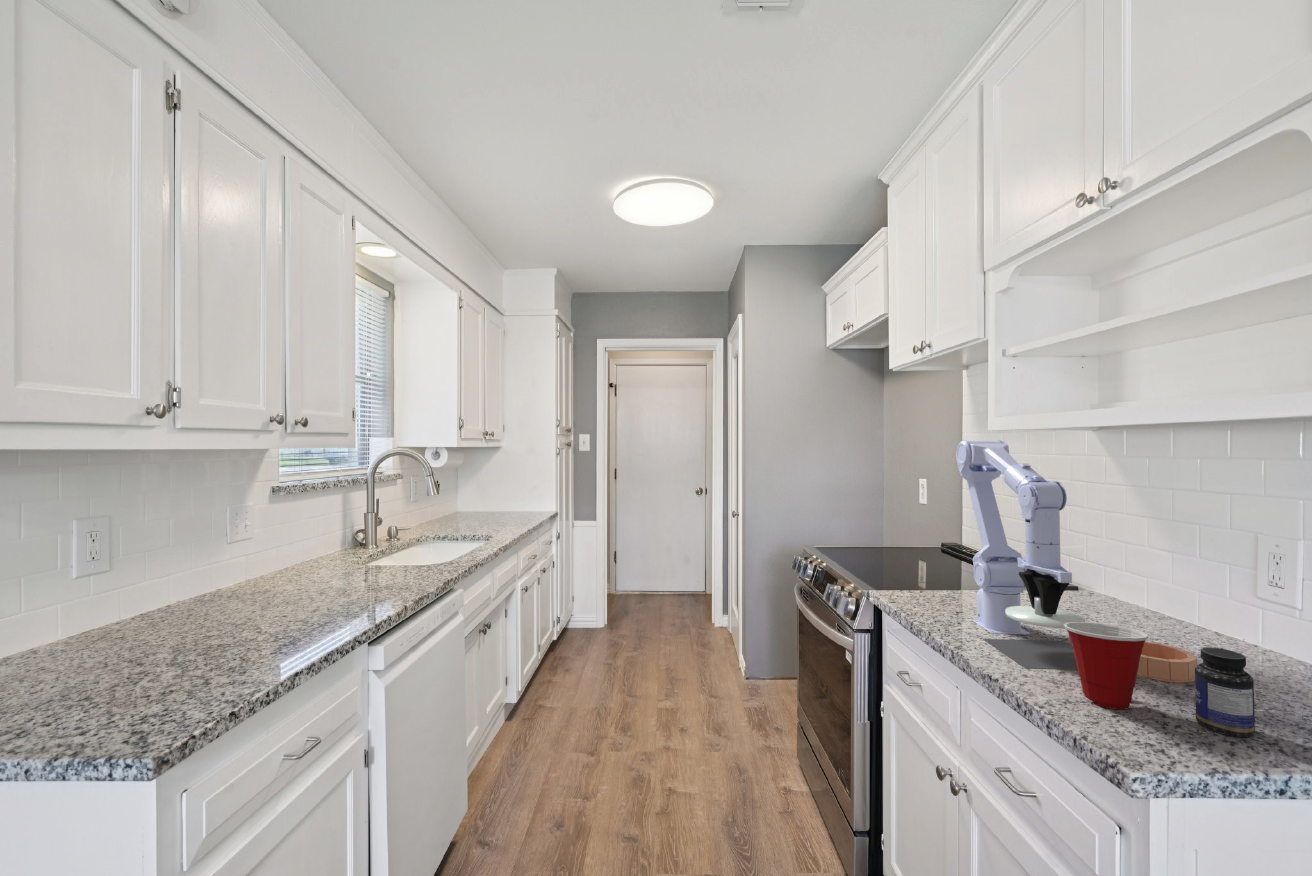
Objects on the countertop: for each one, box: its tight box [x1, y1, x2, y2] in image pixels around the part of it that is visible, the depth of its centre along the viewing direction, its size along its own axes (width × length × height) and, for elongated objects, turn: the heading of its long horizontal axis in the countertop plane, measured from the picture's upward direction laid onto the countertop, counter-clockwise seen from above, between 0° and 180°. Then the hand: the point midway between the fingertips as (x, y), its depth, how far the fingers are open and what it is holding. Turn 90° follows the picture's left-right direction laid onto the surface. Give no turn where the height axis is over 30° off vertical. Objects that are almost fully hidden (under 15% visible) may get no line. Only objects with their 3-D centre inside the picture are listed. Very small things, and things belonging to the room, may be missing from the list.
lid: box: [1005, 596, 1086, 630], centre depth 111 cm, size 13×13×4 cm
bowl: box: [1137, 640, 1198, 683], centre depth 102 cm, size 11×11×4 cm
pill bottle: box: [1194, 646, 1256, 738], centre depth 82 cm, size 6×6×11 cm
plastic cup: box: [1063, 621, 1149, 710], centre depth 91 cm, size 11×11×12 cm
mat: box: [982, 638, 1078, 671], centre depth 111 cm, size 16×16×1 cm
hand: (1043, 611), depth 111 cm, fingers closed on lid, 3 cm apart
